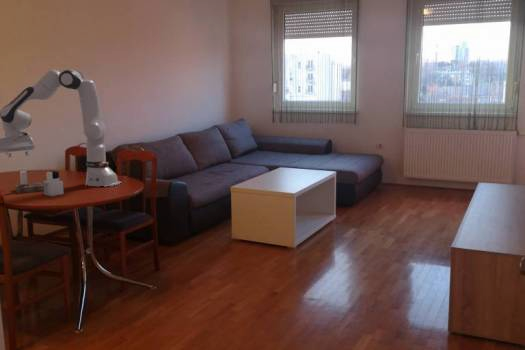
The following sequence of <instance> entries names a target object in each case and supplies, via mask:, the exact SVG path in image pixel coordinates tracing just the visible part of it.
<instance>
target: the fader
mask: <svg viewBox="0 0 525 350" xmlns="http://www.w3.org/2000/svg"><path fill="white" fill-rule="evenodd" d="M19 175H20V176H19V180H20V183H19V185H20V186H29V184H30V183H28V173H27V170H23V171H19Z"/></svg>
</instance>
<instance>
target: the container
mask: <svg viewBox="0 0 525 350" xmlns="http://www.w3.org/2000/svg"><path fill="white" fill-rule="evenodd" d="M42 182H43V184H44V191H43V195H45V196H48V197H49V196H50V197H56V196H60V195H64V181H63V180H60V172H59V171H57V170H51V171H47V172H46V180H43V181H42Z"/></svg>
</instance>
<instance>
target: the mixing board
mask: <svg viewBox="0 0 525 350" xmlns="http://www.w3.org/2000/svg"><path fill="white" fill-rule="evenodd" d="M28 184H29V186H20V184H14V190H15V192H17V193H18V194H28V193H35V192H44V184H43V181H42V182H32V183H28Z"/></svg>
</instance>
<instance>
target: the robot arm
mask: <svg viewBox="0 0 525 350" xmlns="http://www.w3.org/2000/svg"><path fill="white" fill-rule="evenodd" d="M62 86H63V88H66V89H70V90H75V91H77V92H78V96H79V97H78V98H79V102H80V107H81V108H80V109H81V114H82V127H83V133H84V135H85V137H86V138H87V139H86V163H85V164H86V167H87V168H86V178H85V180H86V181H85V183H84V184H85V186H87V185H88V187H89V186H90V187H100V186H104V187H103V188H108V187H107V186H110V187H114V185H115V186H119V185H121V184H122V181H118V175H117V173H116V172H114V171H113V170H112V169H111V168H110V167H109V163H110V162H109V161H107V158H106V135H107V134H106V133H107V132H106V130H107V129H106V125H105V123H104V122H103V121H102V110H101V104H100V103H101V102H100V98H99V92H98V89H97V87H96V86H97V85H96V84H95V82H94V80H91V79H89V78H88V79H86V78H85V79H84V76H83V74H82V73H81V72H80V71H78V70H74V69H65V70H63V71H61V72H60V71H59V70H58V69H49V70H48V71H47V72H45V73H44V75H42V77H40V79H39V80H38V81H37V82H36V83H35V84H33V85H31V86H28V87H25V88H24V89H23V90H22V91H21V92H20V93H19V94H17V96H16V97H15V98H14V99H13V100H11V101H10V102H9V103H8V104H7V105H5V106H4V107H2V108H1V109H0V119H1V124H2V129H3V131H4V137H5V138H4V137H2V138H0V153H2V154H3V153H5V154H6V156H7V157H8V158H11V157H12V153H11V152H13V153H14V152H21V151H22V152H23V151H25V152H24V153H25V156H26V157H27V156H29V151H30V150H31V151H32V150H34V149H35V146H36V144H35V142H34V139H33V138H32V137H31V134H30V133H29V132H25V131H23V130H25V129H27V128H28V127H30V126H31V124H32V116H31V114H30V113H28V112H26V111H23V110H20V108H21V107H22V106H23V105H24V104H25V103H27V102H28V101H30V100H39V101H46V100H48V99H50V98H52V97H53V95H55V93H56V92H57V91H58V90H59V88H60V87H62ZM120 183H121V184H120ZM118 184H119V185H118Z"/></svg>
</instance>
